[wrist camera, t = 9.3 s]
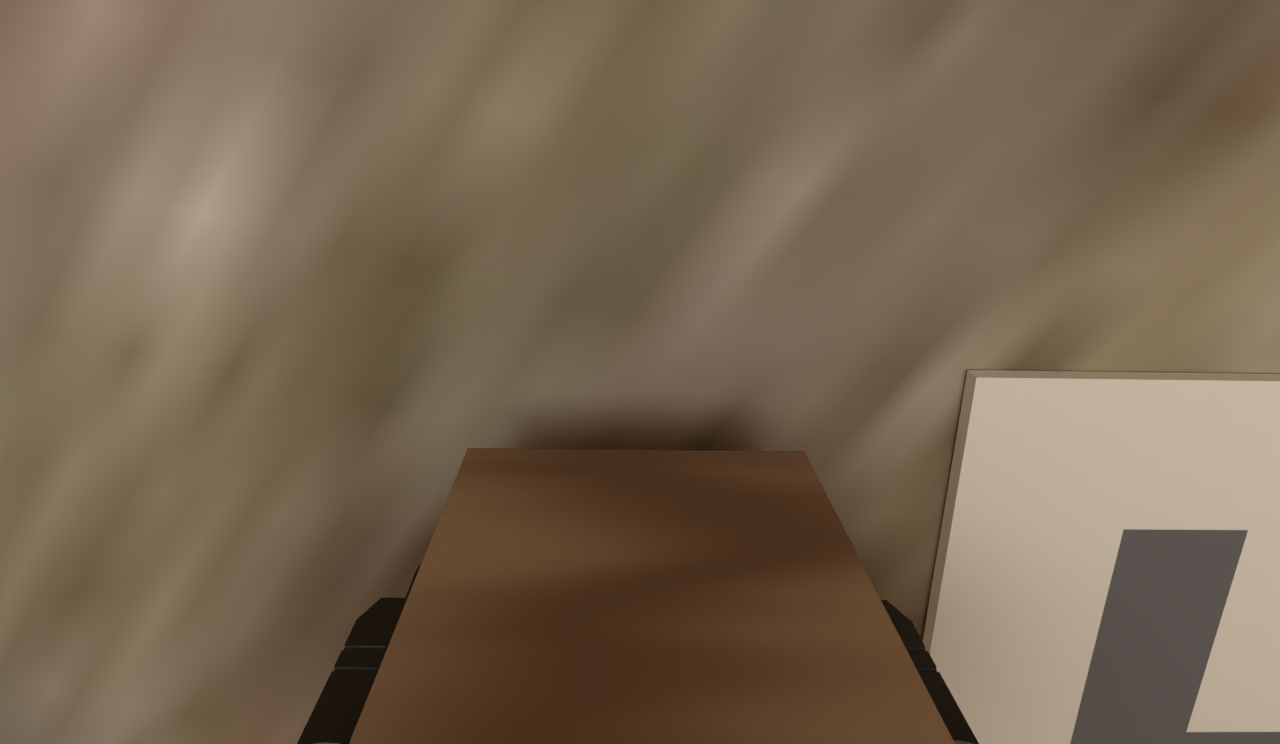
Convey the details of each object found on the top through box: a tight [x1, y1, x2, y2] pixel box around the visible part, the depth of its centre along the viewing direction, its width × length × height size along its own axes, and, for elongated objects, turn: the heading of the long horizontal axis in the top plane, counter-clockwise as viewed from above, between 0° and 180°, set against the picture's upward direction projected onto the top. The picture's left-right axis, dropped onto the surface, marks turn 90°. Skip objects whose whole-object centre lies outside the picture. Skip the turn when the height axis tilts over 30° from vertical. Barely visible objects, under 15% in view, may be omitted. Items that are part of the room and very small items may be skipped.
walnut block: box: [349, 448, 955, 744], centre depth 10 cm, size 5×5×6 cm
